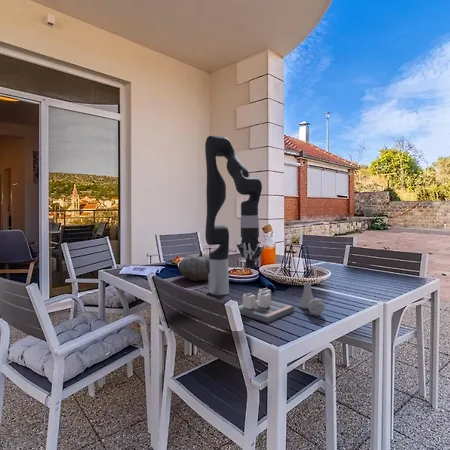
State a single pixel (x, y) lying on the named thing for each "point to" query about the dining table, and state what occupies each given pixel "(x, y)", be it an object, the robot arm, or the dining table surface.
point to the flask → (306, 296)
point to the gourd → (195, 267)
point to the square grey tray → (267, 311)
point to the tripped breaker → (264, 300)
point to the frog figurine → (316, 306)
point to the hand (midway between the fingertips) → (250, 267)
